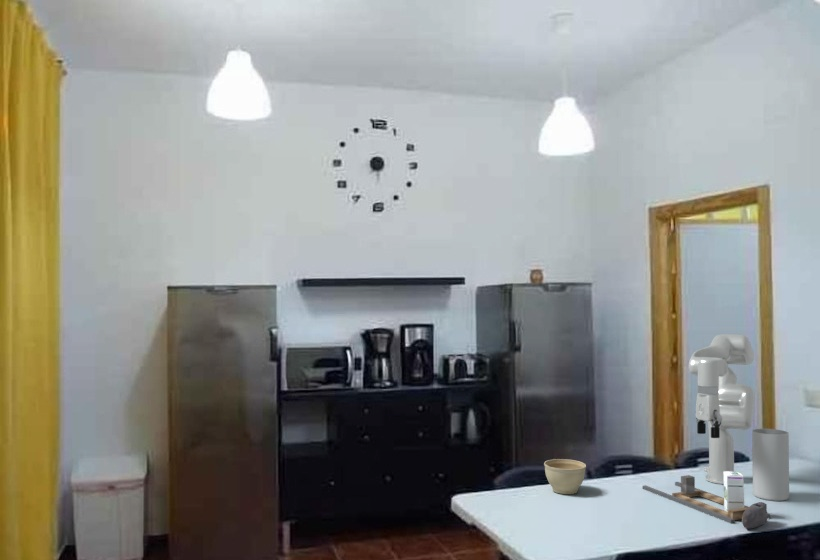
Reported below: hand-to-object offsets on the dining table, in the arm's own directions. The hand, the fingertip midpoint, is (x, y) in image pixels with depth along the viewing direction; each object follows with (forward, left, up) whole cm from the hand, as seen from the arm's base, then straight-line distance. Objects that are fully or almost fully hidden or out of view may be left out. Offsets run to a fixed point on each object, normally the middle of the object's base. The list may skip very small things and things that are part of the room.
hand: (708, 435), depth 274 cm
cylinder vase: (+8, +23, -24) cm, 34 cm away
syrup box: (+20, -7, -24) cm, 32 cm away
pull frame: (+11, -7, -24) cm, 27 cm away
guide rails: (+4, -7, -24) cm, 25 cm away
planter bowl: (-26, -47, -24) cm, 59 cm away
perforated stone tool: (+32, -11, -24) cm, 41 cm away
